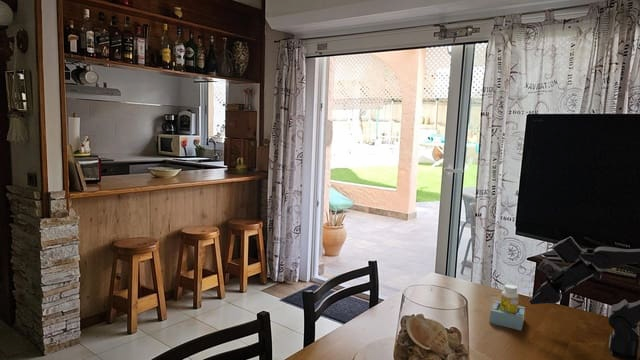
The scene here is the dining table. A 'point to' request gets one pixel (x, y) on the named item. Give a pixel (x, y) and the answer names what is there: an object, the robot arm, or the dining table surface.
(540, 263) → the robot arm
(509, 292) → the supplement bottle
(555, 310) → the dining table surface
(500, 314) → the teal tray
